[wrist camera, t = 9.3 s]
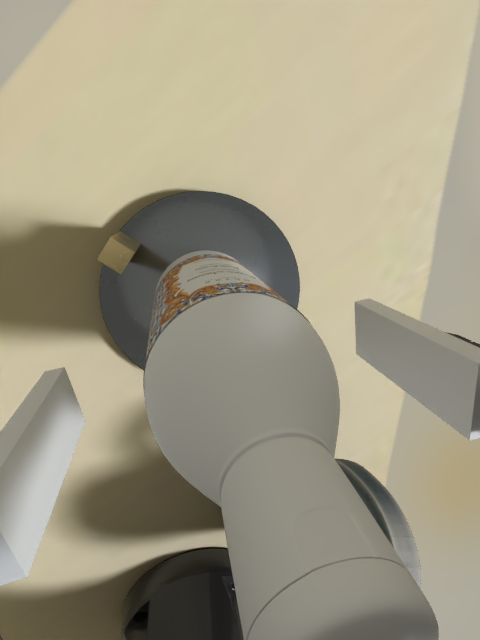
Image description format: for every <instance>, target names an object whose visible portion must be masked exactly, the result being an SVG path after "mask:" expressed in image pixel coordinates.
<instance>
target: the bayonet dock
mask: <svg viewBox="0 0 480 640" xmlns="http://www.w3.org/2000/svg"><path fill="white" fill-rule="evenodd" d="M202 250H210V251H217V252H221V253H224V254H226V255H229V256H231V257H232V258H234V259H235V260H237V261H238V262H239V263H241V264H242V265H243V266H245V267H246V268H247V269H248V270H250V271H251V272H252V273H253V274H254V275H256V276H257V277H258V278H259V279H260V280H262V281H263V282H264V283H265V284H267V285H268V286H269V287H270V288H271V289H273V290H274V291H275V292H276V293H277V294H279V295H280V296H281V297H282V298H284V299H285V300H286V301H287V302H288V303H290V304H291V305H292V306H293V307H294V308H296V309H297V307H298V302H299V293H300V281H299V272H298V266H297V263H296V259H295V256H294V253H293V251H292V249H291V246H290V244H289V242H288V241H287V239H286V237H285V236H284V234H283V232H282V231H281V230H280V229H279V228H278V226H277V225H276V224H275V223H274V222H273V221H272V220H271V219H270V218H269V217H268V216H267V215H266V214H265V213H263V212H262V211H261V210H259V209H258V208H256V207H255V206H253V205H251V204H249V203H248V202H246V201H244V200H242V199H239V198H236V197H233V196H230V195H227V194H222V193H217V192H206V191H195V192H185V193H180V194H176V195H172V196H169V197H166V198H163V199H161V200H158V201H156V202H154V203H153V204H151V205H149V206H147V207H145V208H144V209H142V210H141V211H140V212H139V213H137V214H136V215H135V216H133V217H132V218H131V219H130V220H129V221H128V222H127V223H126V224H125V225H124V226H123V227H122V229H121V230H120V231H119V232H118V233H116V234H114V235H113V236H111V237H110V238H109V240H108V242H107V243H106V245H105V246H104V248H103V250H102V251H101V253H100V255H99V256H98V258H97V260H98V261H100V262H102V263H103V266H102V271H101V276H100V290H99V294H100V304H101V309H102V313H103V317H104V320H105V323H106V325H107V328H108V330H109V332H110V334H111V336H112V337H113V339H114V341H115V342H116V344H117V345H118V346H119V348H120V349H121V350H122V351H123V353H124V354H125V355H126V356H127V357H128V358H129V359H130V360H131V361H133V362H134V363H135V364H137V365H138V366H139V367H140V368H142V369H143V370H144V368H145V361H146V354H147V347H148V340H149V332H150V325H151V318H152V311H153V304H154V297H155V291H156V287H157V284H158V281H159V279H160V277H161V276H162V274H163V272H164V271H165V270H166V268H167V267H168V266H169V265H170V264H171V263H173V262H174V261H175V260H176V259H178V258H180V257H181V256H183V255H186V254H188V253H191V252H195V251H202Z"/></svg>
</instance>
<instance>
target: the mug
mask: <svg viewBox="0 0 480 640" xmlns="http://www.w3.org/2000/svg"><path fill="white" fill-rule="evenodd" d="M335 460H336V462H337V463H338V465H339V466H340V468H341V469H342V471H343V472H344V474H345V475H346V476H347V478H348V479H349V481H350V482H351V484H352V485H353V487H354V488H355V490H356V492H357V493H358V495H359V496H360V498H361V499H362V501H363V502H364V504H365V505H366V507H367V508H368V510H369V511H370V513H371V514H372V516H373V517H374V519H375V520H376V522H377V524H378V525H379V527H380V528H381V530H382V531H383V533H384V534H385V536H386V537H387V539H388V540H389V542H390V543H391V545H392V546H393V548H394V549H395V551H396V553H397V554H398V556H399V557H400V559H401V560H402V562H403V563H404V565H405V566H406V568H407V569H408V571H409V572H410V574H411V576H412V577H413V579H414V580H415V582H416V583H417V585H418V586H419V588H421V566H420V560H419V555H418V550H417V547H416V543H415V540H414V537H413V534H412V531H411V529H410V526H409V524H408V522H407V520H406V518H405V516H404V514H403V512H402V510H401V509H400V507H399V505H398V504H397V502H396V501H395V499H394V498H393V496H392V495H391V494H390V493H389V492H388V490H387V489H386V488H385V487H384V486H383V485H382V484H381V483H380V482H379V481H378V480H377V479H376V478H375V477H374V476H373V475H372V474H371V473H370V472H369V471H367V470H366V469H365V468H364V467H362V466H361V465H359V464H357V463H355V462H352V461H349V460H344V459H335Z"/></svg>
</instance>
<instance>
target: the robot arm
mask: <svg viewBox="0 0 480 640" xmlns="http://www.w3.org/2000/svg"><path fill="white" fill-rule="evenodd" d="M355 329H356V354H357V355H359V356H360V357H361V358H362V359H364V360H365V361H366V362H368V363H369V364H370V365H372V366H373V367H374V368H376V369H377V370H378V371H379V372H381V373H382V374H383V375H385V376H386V377H387V378H389V379H390V380H391V381H392V382H394V383H395V384H396V385H398V386H399V387H400V388H402V389H403V390H404V391H406V392H407V393H408V394H409V395H411V396H412V397H413V398H415V399H416V400H418V401H419V402H420V403H421V404H423V405H424V406H425V407H427V408H428V409H429V410H431V411H432V412H433V413H434V414H436V415H437V416H438V417H440V418H441V419H442V420H443V421H445V422H446V423H447V424H449V425H450V426H451V427H453V428H454V429H455V430H457V431H458V432H459V433H460V434H462V435H463V436H464V437H466V438H467V439H468V440H473V439H477V438H480V344H477V343H475V342H471V340H468V339H466V338H463V337H461V336H459V335H455V334H451V333H446V332H443V331H441V330H439V329H437V328H434V327H432V326H429V325H428V324H425V323H423V322H421V321H419V320H416V319H414V318H412V317H410V316H407V315H405V314H403V313H401V312H398V311H396V310H394V309H392V308H389V307H387V306H385V305H383V304H380V303H378V302H376V301H374V300H371V299H365V300H361V301H356V302H355ZM85 422H86V421H85V419H84V416H83V413H82V411H81V408H80V406H79V403H78V401H77V398H76V395H75V393H74V390H73V388H72V385H71V383H70V380H69V377H68V375H67V372H66V370H65V367H63V368H59V369H54V370H50V371H45V372H44V374H43V375H42V376H41V378H40V379H39V380H38V382H37V383H36V385H35V386H34V387H33V389H32V390H31V391H30V393H29V394H28V395H27V397H26V398H25V399H24V401H23V402H22V404H21V405H20V406H19V408H18V409H17V410H16V412H15V413H14V414H13V416H12V417H11V418H10V420H9V421H8V423H7V424H6V425H5V427H4V428H3V429H2V431H1V432H0V586H1V585H5V584H8V583H11V582H14V581H18V580H21V579H24V578H27V577H28V574H29V571H30V569H31V566H32V563H33V561H34V558H35V555H36V553H37V550H38V547H39V545H40V542H41V539H42V537H43V534H44V531H45V529H46V526H47V523H48V521H49V518H50V515H51V513H52V510H53V507H54V505H55V502H56V499H57V497H58V494H59V491H60V489H61V486H62V483H63V481H64V478H65V475H66V473H67V470H68V467H69V465H70V462H71V459H72V457H73V454H74V451H75V449H76V446H77V443H78V441H79V438H80V435H81V433H82V430H83V427H84V425H85ZM121 634H122V640H244V638H243V632H242V626H241V620H240V615H239V609H238V603H237V598H236V592H235V586H234V580H233V575H232V569H231V563H230V557H229V552H228V549H203V550H197V551H192V552H188V553H184V554H181V555H178V556H176V557H173V558H171V559H169V560H166V561H165V562H163V563H161V564H159V565H157V566H156V567H154V568H153V569H151V570H150V571H149V572H147V573H146V574H145V575H144V576H143V577H142V578H141V579H140V580H139V581H138V582H137V583H136V584H135V585H134V587H133V588H132V589H131V591H130V593H129V594H128V596H127V599H126V602H125V605H124V613H123V622H122V632H121ZM0 640H3V639H2V637H1V635H0Z"/></svg>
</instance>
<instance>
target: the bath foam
mask: <svg viewBox="0 0 480 640" xmlns="http://www.w3.org/2000/svg"><path fill="white" fill-rule="evenodd" d="M144 397H145V405H146V411H147V416H148V420H149V424H150V427H151V430H152V432H153V435H154V437H155V440H156V442H157V444H158V445H159V447H160V449H161V451H162V452H163V454H164V456H165V457H166V458H167V460H168V461H169V462H170V463H171V465H172V466H173V467H174V468H175V470H176V471H177V472H178V473H179V474H180V475H181V476H182V477H183V478H184V479H185V480H187V481H188V482H189V483H190V484H191V485H192V486H194V487H195V488H196V489H197V490H199V491H200V492H201V493H202V494H204V495H205V496H206V497H208V498H209V499H210V500H212V501H213V502H215V503H216V504H217V505H219V506H220V507H221V508H222V514H223V521H224V528H225V534H226V540H227V546H228V552H229V557H230V563H231V569H232V575H233V580H234V586H235V592H236V598H237V603H238V609H239V615H240V620H241V626H242V632H243V638H244V640H438V624H437V620H436V618H435V615H434V612H433V610H432V608H431V606H430V604H429V602H428V601H427V599H426V597H425V596H424V594H423V592H422V591H421V589H420V588H419V586H418V585H417V583H416V582H415V580H414V579H413V577H412V576H411V574H410V572H409V571H408V569H407V568H406V566H405V565H404V563H403V562H402V560H401V559H400V557H399V556H398V554H397V553H396V551H395V549H394V548H393V546H392V545H391V543H390V542H389V540H388V539H387V537H386V536H385V534H384V533H383V531H382V530H381V528H380V527H379V525H378V524H377V522H376V520H375V519H374V517H373V516H372V514H371V513H370V511H369V510H368V508H367V507H366V505H365V504H364V502H363V501H362V499H361V498H360V496H359V495H358V493H357V492H356V490H355V488H354V487H353V485H352V484H351V482H350V481H349V479H348V478H347V476H346V475H345V474H344V472H343V471H342V469H341V468H340V466H339V465H338V463H337V462H336V460H335V459H334V454H335V448H336V441H337V434H338V425H339V413H340V398H339V388H338V381H337V376H336V373H335V369H334V365H333V363H332V360H331V358H330V355H329V353H328V351H327V349H326V347H325V345H324V343H323V341H322V340H321V338H320V336H319V335H318V333H317V332H316V331H315V329H314V328H313V327H312V325H311V324H310V322H309V321H308V320H307V319H306V318H305V317H304V316H303V315H302V314H301V313H300V312H299V311H298V310H297V309H296V308H294V307H293V306H292V305H291V304H290V303H288V302H287V301H286V300H285V299H284V298H282V297H281V296H280V295H279V294H277V293H276V292H275V291H274V290H273V289H271V288H270V287H269V286H268V285H267V284H265V283H264V282H263V281H262V280H260V279H259V278H258V277H257V276H256V275H254V274H253V273H252V272H251V271H250V270H248V269H247V268H246V267H245V266H243V265H242V264H241V263H239V262H238V261H237V260H235V259H234V258H232V257H231V256H229V255H226V254H224V253H221V252H217V251H210V250H202V251H195V252H191V253H188V254H186V255H183V256H181V257H180V258H178V259H176V260H175V261H174V262H173V263H171V264H170V265H169V266H168V267H167V268H166V270H165V271H164V272H163V274H162V276H161V277H160V279H159V281H158V284H157V287H156V291H155V297H154V304H153V311H152V318H151V325H150V332H149V340H148V347H147V354H146V361H145V368H144Z"/></svg>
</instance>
